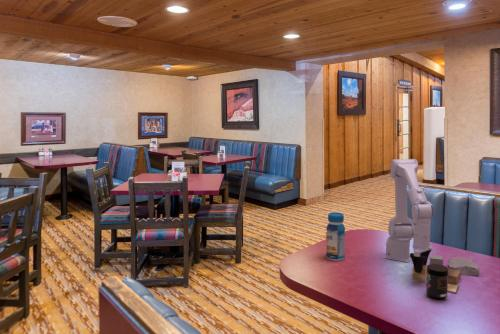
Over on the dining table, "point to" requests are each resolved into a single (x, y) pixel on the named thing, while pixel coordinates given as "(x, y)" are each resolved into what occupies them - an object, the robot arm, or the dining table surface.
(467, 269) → the stone block
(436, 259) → the slate block
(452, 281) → the walnut block
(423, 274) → the maple block
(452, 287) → the tile
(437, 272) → the supplement container
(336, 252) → the beverage bottle
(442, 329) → the dining table surface
